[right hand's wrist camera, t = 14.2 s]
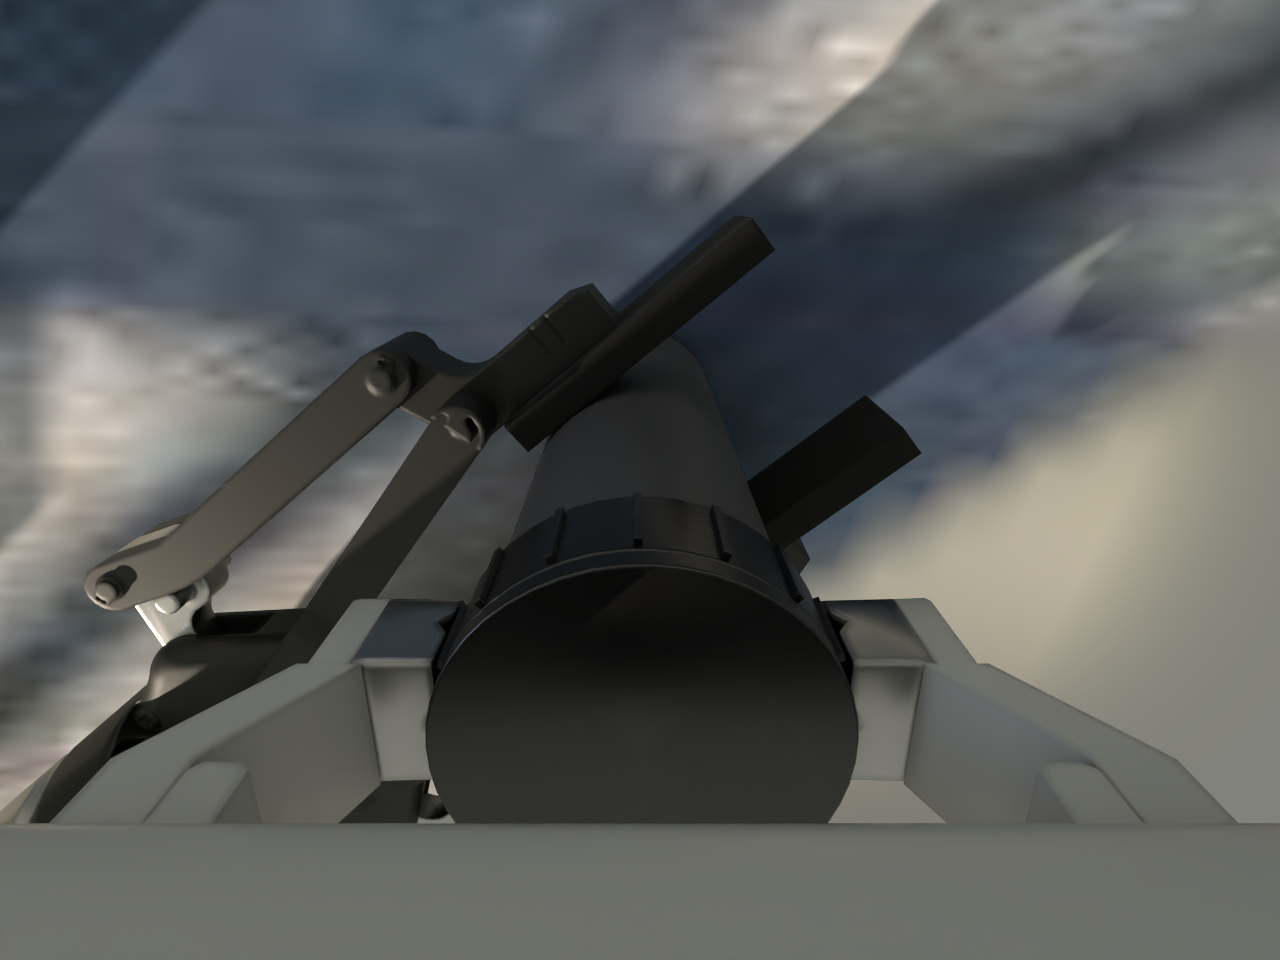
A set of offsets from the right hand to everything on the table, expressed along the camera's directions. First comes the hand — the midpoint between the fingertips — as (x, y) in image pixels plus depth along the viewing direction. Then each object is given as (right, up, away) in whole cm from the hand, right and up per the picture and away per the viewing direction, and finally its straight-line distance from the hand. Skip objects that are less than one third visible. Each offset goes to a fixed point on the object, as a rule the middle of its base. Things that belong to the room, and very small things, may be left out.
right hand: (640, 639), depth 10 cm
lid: (0, -1, -2) cm, 2 cm away
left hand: (+4, +6, +5) cm, 9 cm away
